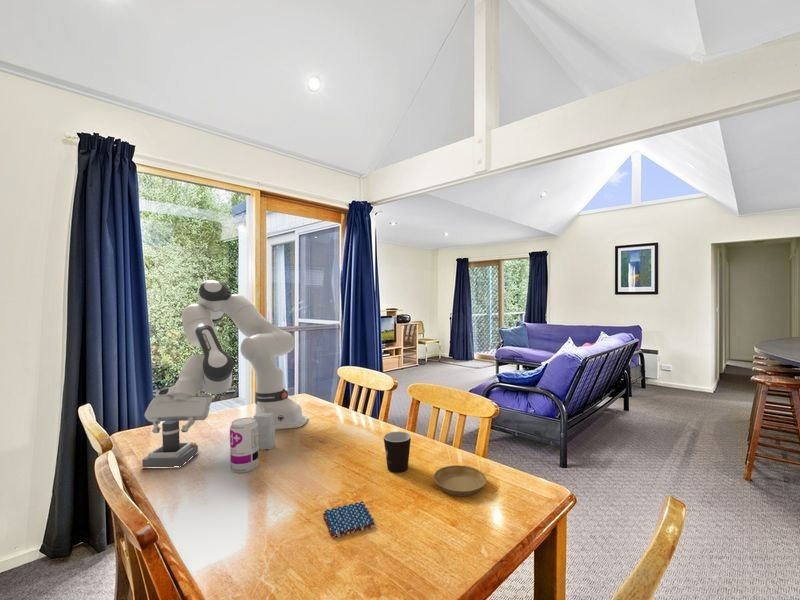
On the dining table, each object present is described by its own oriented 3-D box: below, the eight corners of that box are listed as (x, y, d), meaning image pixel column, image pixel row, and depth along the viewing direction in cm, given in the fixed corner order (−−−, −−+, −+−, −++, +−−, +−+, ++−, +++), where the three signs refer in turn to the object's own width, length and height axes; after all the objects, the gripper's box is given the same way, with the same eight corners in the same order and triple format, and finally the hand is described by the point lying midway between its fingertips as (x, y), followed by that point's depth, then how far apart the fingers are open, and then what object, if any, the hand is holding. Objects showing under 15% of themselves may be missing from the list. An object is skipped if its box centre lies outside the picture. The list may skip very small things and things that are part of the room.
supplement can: (239, 476, 113) (238, 427, 113) (225, 469, 118) (224, 422, 118) (263, 466, 119) (262, 420, 119) (249, 460, 124) (248, 415, 124)
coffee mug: (408, 476, 112) (408, 442, 111) (380, 473, 113) (380, 441, 113) (415, 459, 123) (414, 428, 123) (389, 457, 125) (389, 427, 125)
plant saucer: (476, 506, 96) (475, 496, 96) (424, 491, 103) (424, 482, 103) (493, 481, 108) (493, 472, 108) (446, 469, 116) (446, 461, 116)
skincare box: (275, 445, 137) (274, 412, 136) (270, 450, 132) (269, 416, 132) (259, 444, 137) (258, 412, 137) (253, 449, 133) (253, 416, 133)
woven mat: (321, 517, 93) (321, 508, 92) (362, 506, 97) (362, 499, 97) (330, 542, 83) (330, 533, 83) (376, 530, 87) (375, 521, 87)
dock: (198, 453, 131) (197, 440, 130) (180, 467, 120) (180, 454, 119) (163, 454, 130) (162, 441, 130) (142, 469, 119) (142, 455, 119)
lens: (183, 448, 127) (182, 418, 127) (174, 454, 122) (173, 423, 122) (168, 449, 127) (167, 419, 127) (159, 455, 122) (158, 424, 122)
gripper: (217, 398, 136) (204, 435, 127) (160, 400, 136) (143, 437, 126) (211, 389, 132) (197, 426, 122) (152, 391, 131) (134, 428, 122)
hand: (169, 432), depth 124 cm, fingers open, 8 cm apart
